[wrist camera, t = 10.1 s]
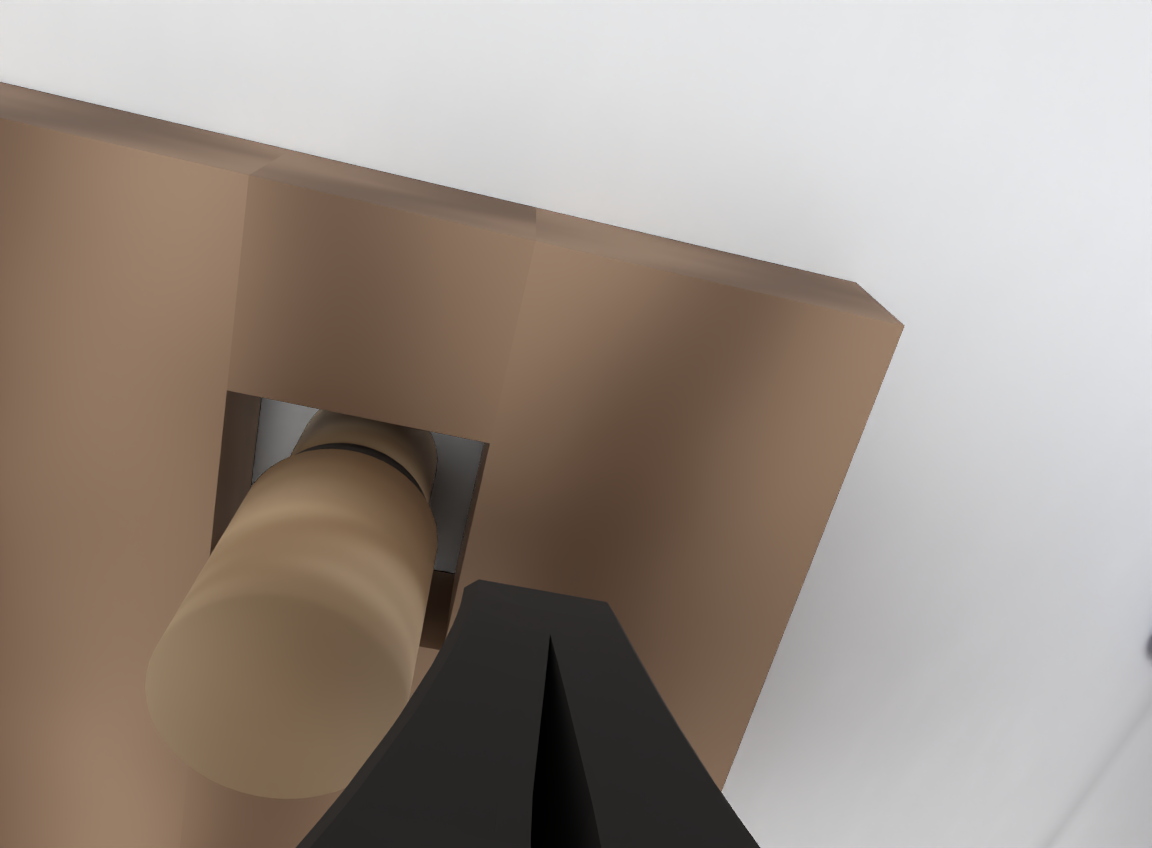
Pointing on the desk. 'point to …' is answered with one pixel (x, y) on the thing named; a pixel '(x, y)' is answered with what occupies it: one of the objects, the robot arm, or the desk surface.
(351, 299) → the board
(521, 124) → the desk surface
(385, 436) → the peg
